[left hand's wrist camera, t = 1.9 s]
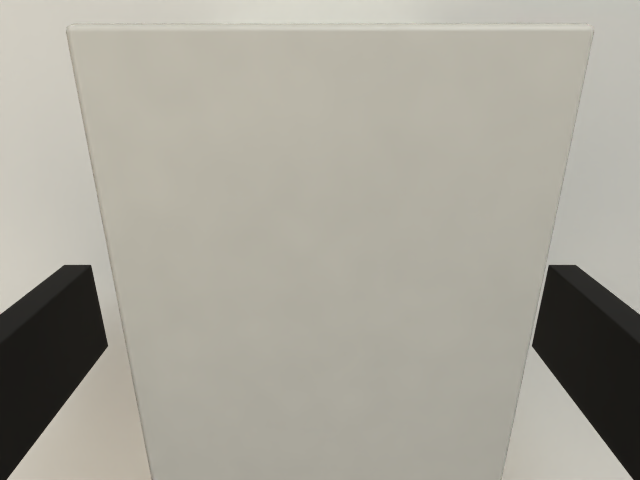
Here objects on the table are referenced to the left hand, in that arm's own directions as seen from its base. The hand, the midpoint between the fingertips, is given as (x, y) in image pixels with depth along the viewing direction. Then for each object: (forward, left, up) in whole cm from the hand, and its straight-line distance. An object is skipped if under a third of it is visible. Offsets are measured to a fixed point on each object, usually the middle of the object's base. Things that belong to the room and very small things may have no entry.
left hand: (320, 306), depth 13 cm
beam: (-6, +19, -3) cm, 21 cm away
